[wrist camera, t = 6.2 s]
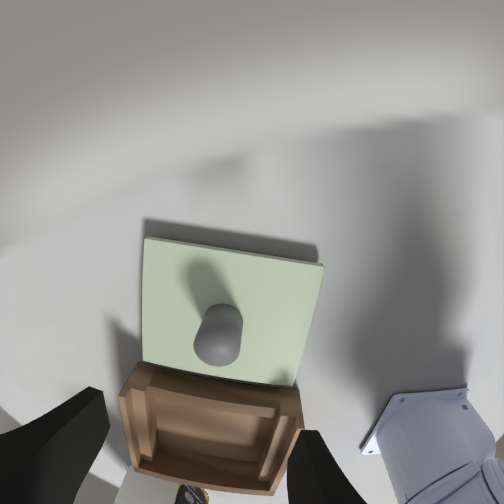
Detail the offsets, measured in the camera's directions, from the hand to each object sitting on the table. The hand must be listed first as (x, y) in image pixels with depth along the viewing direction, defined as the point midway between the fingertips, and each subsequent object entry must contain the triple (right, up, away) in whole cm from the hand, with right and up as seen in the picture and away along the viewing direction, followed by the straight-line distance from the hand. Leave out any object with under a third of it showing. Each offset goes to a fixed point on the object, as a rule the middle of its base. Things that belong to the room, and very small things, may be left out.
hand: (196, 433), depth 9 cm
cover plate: (0, +2, +9) cm, 10 cm away
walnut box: (-1, -7, +12) cm, 14 cm away
